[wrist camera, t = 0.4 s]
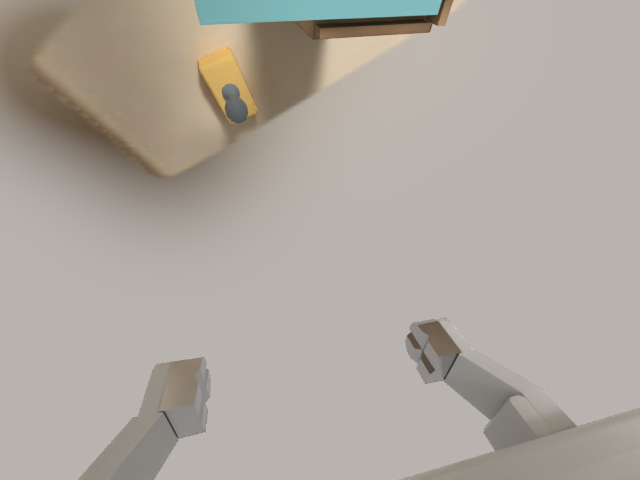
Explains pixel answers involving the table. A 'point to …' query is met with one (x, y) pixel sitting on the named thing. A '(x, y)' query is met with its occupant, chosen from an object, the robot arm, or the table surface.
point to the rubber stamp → (227, 85)
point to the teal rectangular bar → (308, 10)
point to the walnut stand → (375, 25)
